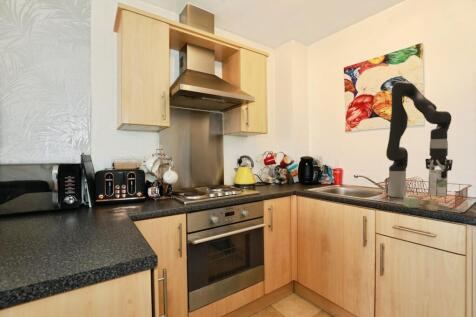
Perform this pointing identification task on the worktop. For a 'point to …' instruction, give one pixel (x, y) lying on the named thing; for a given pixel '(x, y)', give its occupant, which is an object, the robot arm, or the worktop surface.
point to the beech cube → (430, 204)
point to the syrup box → (437, 184)
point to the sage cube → (411, 202)
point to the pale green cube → (417, 197)
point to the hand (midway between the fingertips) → (437, 177)
